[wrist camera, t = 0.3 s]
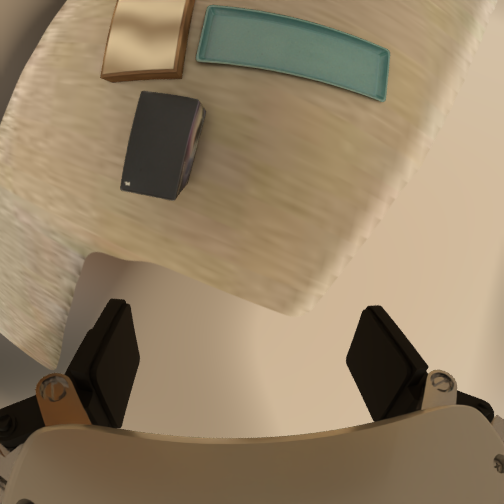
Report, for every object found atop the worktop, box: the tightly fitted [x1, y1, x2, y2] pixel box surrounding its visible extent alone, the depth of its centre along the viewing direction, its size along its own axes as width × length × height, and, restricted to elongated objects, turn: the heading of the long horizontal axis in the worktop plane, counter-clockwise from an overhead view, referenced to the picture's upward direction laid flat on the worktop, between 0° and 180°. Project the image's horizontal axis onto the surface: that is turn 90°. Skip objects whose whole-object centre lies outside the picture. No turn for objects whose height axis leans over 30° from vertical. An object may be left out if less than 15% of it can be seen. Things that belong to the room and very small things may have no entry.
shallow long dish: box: [196, 5, 390, 102], centre depth 29 cm, size 26×9×2 cm, turn 82°
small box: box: [120, 91, 206, 201], centre depth 29 cm, size 11×6×10 cm, turn 165°
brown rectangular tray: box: [100, 0, 195, 82], centre depth 25 cm, size 14×10×4 cm
